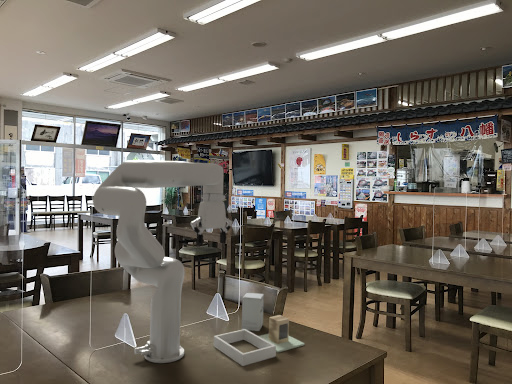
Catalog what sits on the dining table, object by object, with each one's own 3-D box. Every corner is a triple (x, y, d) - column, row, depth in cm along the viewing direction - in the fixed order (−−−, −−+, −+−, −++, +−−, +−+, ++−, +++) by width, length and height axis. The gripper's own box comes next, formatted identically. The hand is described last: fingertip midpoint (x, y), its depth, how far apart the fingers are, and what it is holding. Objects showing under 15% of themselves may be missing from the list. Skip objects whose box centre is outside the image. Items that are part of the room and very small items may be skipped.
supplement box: (259, 331, 152) (260, 298, 151) (241, 329, 153) (241, 297, 153) (263, 325, 159) (264, 293, 159) (245, 323, 160) (246, 292, 160)
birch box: (268, 339, 142) (269, 317, 142) (279, 336, 145) (280, 314, 145) (277, 344, 138) (278, 321, 138) (288, 341, 141) (289, 319, 141)
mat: (277, 352, 133) (277, 350, 133) (253, 338, 144) (253, 337, 144) (304, 345, 140) (304, 343, 140) (279, 332, 151) (279, 330, 151)
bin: (242, 366, 122) (242, 354, 122) (213, 346, 137) (213, 335, 137) (275, 356, 130) (275, 345, 129) (244, 338, 144) (245, 328, 144)
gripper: (227, 198, 157) (226, 241, 157) (187, 197, 147) (186, 244, 147) (237, 198, 151) (236, 243, 151) (196, 198, 140) (195, 247, 141)
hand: (211, 244), depth 149 cm, fingers open, 9 cm apart
